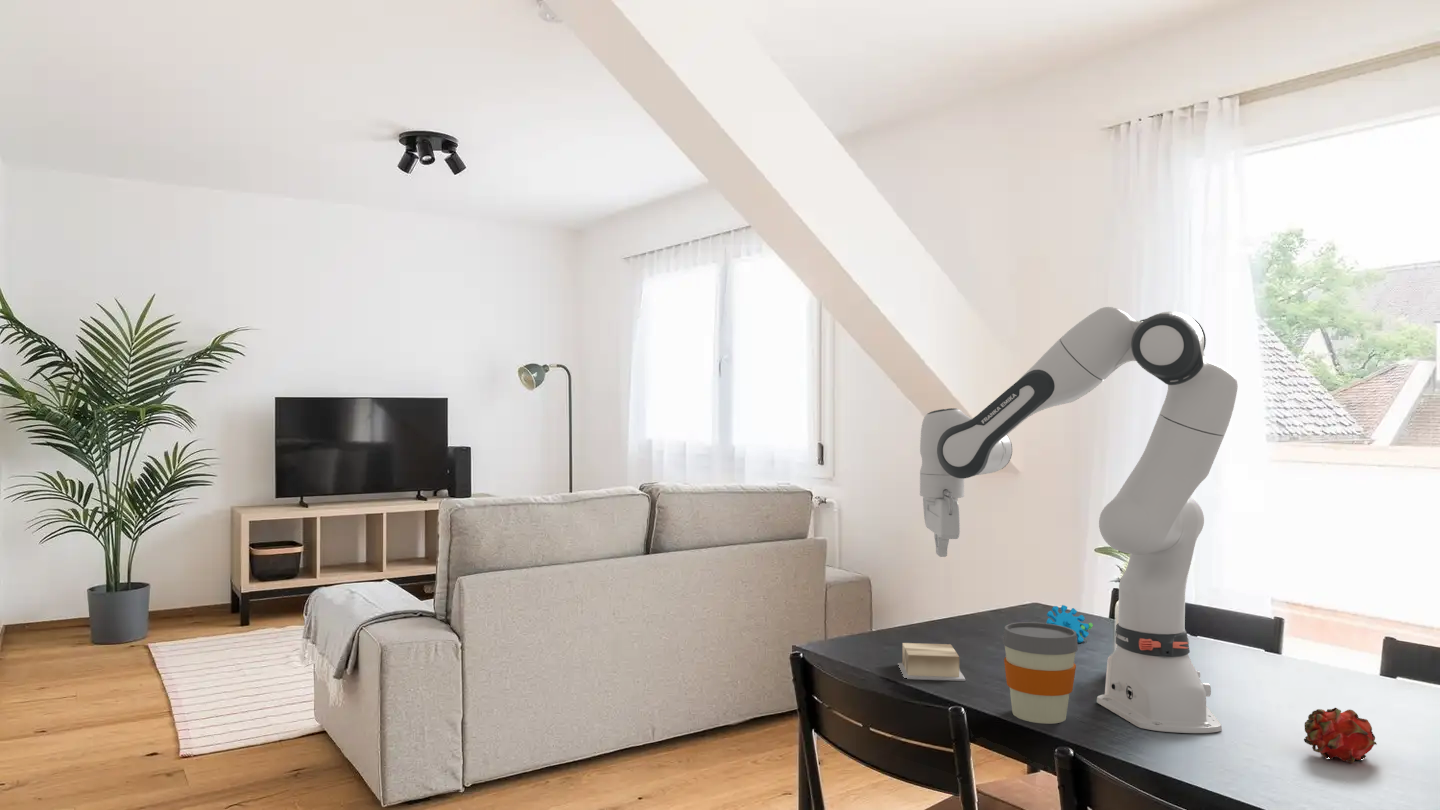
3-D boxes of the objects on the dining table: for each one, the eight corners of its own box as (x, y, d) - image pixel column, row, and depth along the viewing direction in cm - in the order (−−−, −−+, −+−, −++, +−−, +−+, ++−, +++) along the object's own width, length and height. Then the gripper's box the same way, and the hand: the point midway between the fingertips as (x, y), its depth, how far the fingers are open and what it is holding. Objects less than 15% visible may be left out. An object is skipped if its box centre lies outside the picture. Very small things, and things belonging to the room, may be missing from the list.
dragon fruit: (1299, 768, 148) (1363, 775, 151) (1340, 752, 142) (1407, 759, 144) (1280, 714, 153) (1343, 721, 156) (1319, 696, 147) (1384, 704, 149)
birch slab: (950, 663, 200) (959, 676, 190) (902, 661, 200) (908, 675, 190) (950, 644, 200) (959, 656, 190) (902, 642, 200) (908, 655, 190)
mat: (965, 680, 188) (965, 678, 188) (904, 678, 189) (904, 676, 189) (955, 666, 199) (955, 664, 199) (897, 664, 200) (897, 662, 200)
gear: (1052, 637, 219) (1044, 600, 226) (1042, 650, 223) (1035, 614, 230) (1098, 644, 219) (1090, 607, 226) (1088, 657, 223) (1080, 620, 231)
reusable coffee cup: (995, 719, 165) (996, 632, 165) (1009, 700, 176) (1010, 619, 176) (1071, 731, 159) (1072, 642, 159) (1081, 711, 170) (1082, 627, 170)
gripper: (967, 492, 184) (967, 564, 184) (948, 484, 205) (948, 549, 205) (934, 492, 185) (934, 563, 185) (918, 484, 205) (918, 548, 205)
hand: (941, 555), depth 195 cm, fingers closed
